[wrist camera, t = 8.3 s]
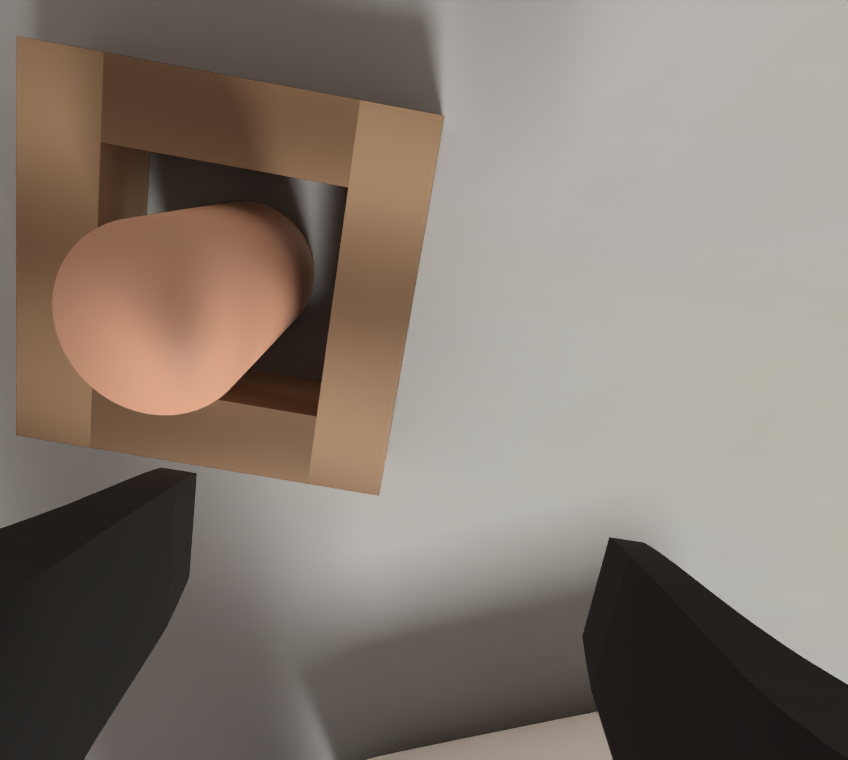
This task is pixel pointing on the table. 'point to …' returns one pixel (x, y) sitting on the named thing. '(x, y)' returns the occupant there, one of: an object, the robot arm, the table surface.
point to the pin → (179, 302)
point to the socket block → (127, 197)
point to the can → (523, 743)
